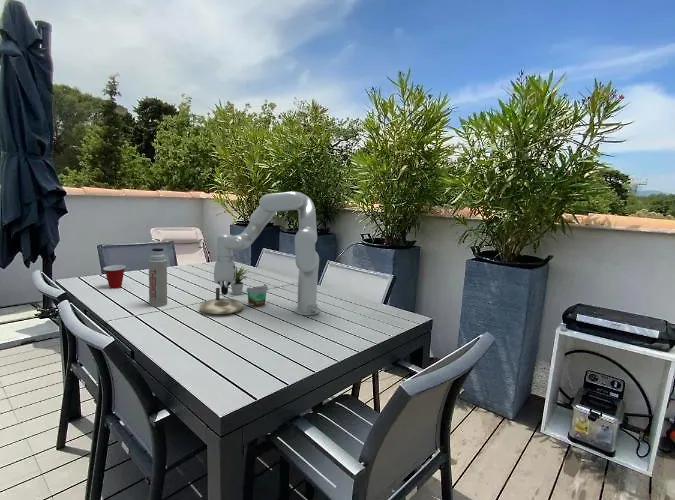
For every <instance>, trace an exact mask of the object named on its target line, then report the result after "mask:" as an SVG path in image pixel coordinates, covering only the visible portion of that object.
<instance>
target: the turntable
mask: <svg viewBox="0 0 675 500" xmlns="http://www.w3.org/2000/svg"><path fill="white" fill-rule="evenodd" d="M220 289H221V287H216V288H215V298H213V299H208V300H204V301H202V302H201V303H200V304H199V310H200V311H201V312H203V313H206V314H214V315H218V314H220V315H223V314H224V315H225V314H232V313H236V312H239V311H241V310H242V309H243V308H244V303H243V302H242V301H241V300H238V299H234V298H221V297H220V295H221V293H220V292H221V290H220Z"/></svg>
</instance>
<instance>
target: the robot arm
mask: <svg viewBox="0 0 675 500" xmlns="http://www.w3.org/2000/svg"><path fill="white" fill-rule="evenodd" d="M285 211H297V212H298V231H297V232H296V234H295V237H294V257H295V258H294V260H295V265H296V267H297V269H298V280H297V281H298V282H297V303H296V304H297V305H296V307H294V308H293V312H294V313H295V314H297V315H301V316H313V315H317V314H318V313H320V311H321V310H322V309H321V308H320V307H318V306H319V305H318V303H317V295H318V281H319V280H318V279H319V269H320V268H319V267H320V256H319V254H318V252H317V251H316V243H317V241H318V232H317V231H318V230H317V228H318V227H317V215H316V207H315V204H314V202H313V200H312V198H310V197H309V196H308V195H306V194H304V193H303V192H299V191H285V192H284V191H283V192H277V193H266V194H264V195H263V196H261V198H260V199H259V205H258V206H257V208H256V209H254V211H253V212H252V213H251V215H250V217H249V223H248V225H247V227H245V228H244V230H243V231H242V232H241V233H239V234H237V235H232V234H228V233H220V234H218V235H217V237H216V261H215V264H214V267H213V268H214V269H213V282H214V283H216V284H218V285H219V288H220V289H221V290H220V292H221V293H220V294H221V295H222V296H225V295H228V293H229V286H231V284H234V283H235V279H236V263H235V260H236V257H235V256H234V255H233V253H234V252H233V251H237V252H238V251H239V252H240V251H242V250H244V249H247V248H250V246H251V245H252V244H253V243H254V242H255V241H256V240H257V238H258V237H259V236H260V235H261V233H262V231H263V230H264V228H265V227H266V226H267V225H268V223H270V221H271V220H272V219H273V217H275V215H276V214H277V212H285Z"/></svg>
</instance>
